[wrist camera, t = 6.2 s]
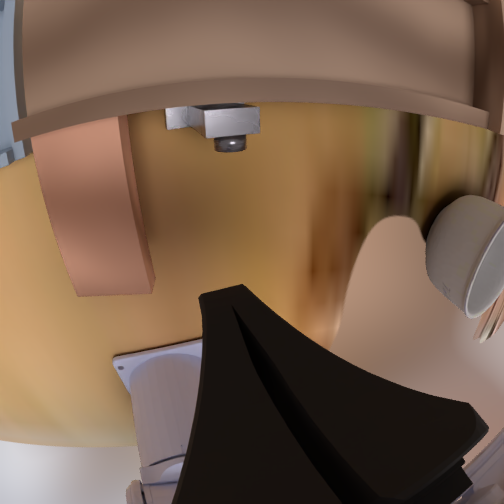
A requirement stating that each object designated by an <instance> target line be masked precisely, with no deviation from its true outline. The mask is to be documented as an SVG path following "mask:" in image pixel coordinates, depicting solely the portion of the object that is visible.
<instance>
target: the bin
mask: <svg viewBox="0 0 504 504" xmlns="http://www.w3.org/2000/svg"><path fill="white" fill-rule="evenodd" d="M23 4H24V0H0V168H2V167H5V166H7V165H10V164H11V163H12V162H14V161H15V160H18V159H21V158H24V157H26V156H28V155H29V154H30V153H32V152H33V148H32V142H31V138H28V139H24V140H21V141H18V142H15V143H14V138H13V132H12V125H11V122H14V121H17V120H19V119H22V118H25V117H27V109H26V100H25V90H24V78H23V58H22V23H23Z"/></svg>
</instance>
